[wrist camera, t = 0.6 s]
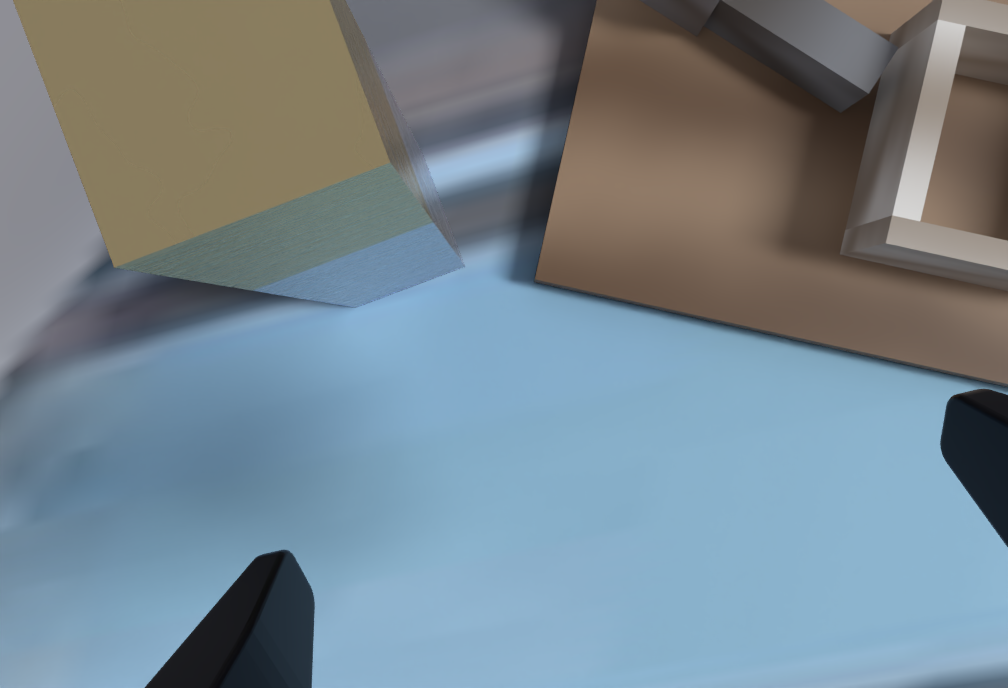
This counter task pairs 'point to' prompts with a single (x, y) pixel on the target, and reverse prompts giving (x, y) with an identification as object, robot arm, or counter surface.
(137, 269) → the block
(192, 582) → the counter surface
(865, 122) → the shaft board
